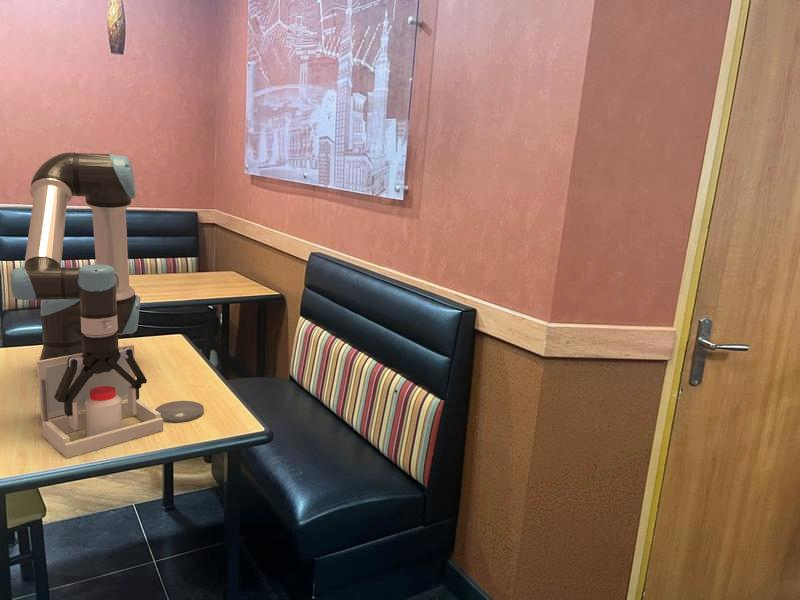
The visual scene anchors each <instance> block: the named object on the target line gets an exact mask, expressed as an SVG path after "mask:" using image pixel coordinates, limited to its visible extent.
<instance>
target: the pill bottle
mask: <svg viewBox="0 0 800 600" xmlns="http://www.w3.org/2000/svg"><path fill="white" fill-rule="evenodd" d="M121 402H122V401H121V397H120V396H118V395H117V394H116V389H115V388H114V387H112V386H100V387H95V388H93V389H91V390H90V397H89V398H88V399H87V400H86V401H85V410H84V411H85V414H86V428H85V429H86V438H87V437H90V436H94V435H98V434H101V433H105V432H109V431H113V430H116V429H120V428H124V427H123V419H122V404H121Z"/></svg>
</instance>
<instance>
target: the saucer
mask: <svg viewBox="0 0 800 600" xmlns="http://www.w3.org/2000/svg"><path fill="white" fill-rule="evenodd" d="M154 410H156V411H157V412H159V413H161V418H163V423H164V422H165V423H171V424H177V423H179V424H180V423H187V422H191V421H194V420H197V419H199V418H201V417H202V416H203V415H204V412H205V407H204V406H203V404H202V403H199V402H196V401H192V400H177V401H176V400H175V401H170V402H166V403H162V404H160V405H159V406H157V407H156V408H155V409H154Z"/></svg>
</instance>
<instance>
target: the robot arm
mask: <svg viewBox="0 0 800 600" xmlns="http://www.w3.org/2000/svg"><path fill="white" fill-rule="evenodd" d="M136 188H137V187H136V181H135V175H134V171H133V166H132V162H131V160H130V159H129V158H128V157H127V156H125V155H117V154H112V153H90V152H89V153H87V152H86V153H85V152H84V153H83V152H63V153H60V154H56V155H54V156H52V157H51V158H49V159H47V161H45V162H44V163H43V164H42V165H40V166H39V168H38V169H37V171H35V173H34V175H33V177H32V178H31V182H30V189H29V192H30V196H31V198H32V207H31V212H30V213H31V215H30V222H29V230H28V235H27V236H28V237H27V243H26V249H25V257H24V266H20V267H15V268H13V270H12V271H11V275H10V288H11V293H12V296H13V298H14V299H16V300H19V301H34V302H35V301H41V302H40V313H39V315H40V322H41V333H42V350H41V354H40V356H39V360H38V361H40V360H46V359H51V358H57V357H63V356H68V355H74V354H80V353H83V355H82V357H81V358H72V357H69V358H68V362H67V369H66V371H65V373H64V375H63V378H62V380H61V382H60V385H59V387H58V389H57V391H56V394H55V396H54V398H55V399H56V400H57V401H58V402H64V412H65V414H66V415H67V416H69V421H70V427H71V428H72V429H74V430H77V429H78V421H77V404H76V402H75V401H74V399H75V397H76V396H77V394H78V393H79V392H80V390H81V389H82V388H83V386H84V385H85V383H86V382H87V381H88V379H89V378H91V377H92V376H93V374H94V373H95V374H100V373H103V372H110V371H111V370H112V369H114V370H115V371H116V372H117V373H118V374H120V375H121V376H122V377H123V378H124V379H125V380H126V381H128V382H129V383H130V384H131V386H127V387H128V412H130V413H131V414H133V415H135V414H137V412H136V400H139V399H140V389H141V387H142V386H143V385H144V384H146V383H148V379H147V378H146V376H145V374H144V372H142V370H141V367H140V366H139V364H138V363H137V361H136V360H134V358H133V351H132V350H131V349H129V348H127V347H125V348H124V349H123V350H120V351H119V350H118V347H119V336H121V335H126V334H128V335H129V334H134V333H135V332H136V331H137V330H138V325H139V319H140V306H141V296H140V295H138V294H136V290H135V289H134V288H133V287H132V286H130V276H129V275H130V274H129V273H130V272H129V252H128V232H127V230H128V229H127V212H126V211H127V208H128V207H130V206H131V205H132V199H135V198H136V197H137V189H136ZM73 197H83V198H85V205H87V206H88V207H89V208H90V209H91V212H92V227H93V239H94V253H95V255H94V256H95V264H88V265H86V264H85V265H84V266H80V267H77V266H76V267H62V259H63V249H64V240H65V239H64V238H65V227H66V216H67V204H69V203H70V201H71V200H72V198H73ZM120 356H122V357H123V358H125V360H126V362H127V363H128V365H129V366H130V368H131V370H132V371H133V373H134V375H135V379H134V378H133V377H131V376H130V375H129V374H128V373H127V372H126V371H125V370H124V369H123V368H122V367H121V366H119V365H118V364H117V361H118V360H119V358H120ZM81 363H83V364H84V365H85V366H84V367H83V369H82V370H81V373H80V375H79V376H78V377H77V379H76V380H75V381H74V383H73V384H72V385H71V383H72V381H73V378H74V376H75V374H76V371H77V368H79V366H80V364H81ZM70 385H71V387H70ZM69 387H70V388H69ZM77 431H78V430H77Z"/></svg>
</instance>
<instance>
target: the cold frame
mask: <svg viewBox="0 0 800 600" xmlns="http://www.w3.org/2000/svg"><path fill="white" fill-rule="evenodd" d="M118 346H119V345H118ZM125 347H127V348H129V349H131V350H132V351H133V358H134V360H135V359H136V357H135V356H136V355H135V344H134V343H132V344H125V345H120V346H119V347H118V350H119V351H120V350H123V349H124V348H125ZM82 355H83V353H80V354H74V355H68V356H63V357H57V358H51V359H46V360H40V361H39V360H37V361H36V366H37V367H36V368H37V381H38V397H39V406H40V407H39V411H40V419H41V420H42V434H43V435H42V436H43V438H44V439H45V438H46V439H47V440H48V441H47V440H46V439H45V440H46V441H47V442H49V443H50V444H51V445H52V446H53V447H54V448H55V447H56V448H55V449H56V450H57V451H59V453H60V454H62V455H63V456H64V457H65V458H66V459H69V458H73V457H76V456H79V455H83V454H86V453H90V452H94V451H97V450H101V449H103V448H107V447H111V446H115V445H118V444H122V443H125V442H129V441H132V440H137V439H138V438H142V437H146V436H148V435H149V436H150V435H153V434H156V433H161V432H163V431H164V422H163V418H161V413H159V412H157V411H156V410H155V409H154V408H152V406H149V405H148V404H146V403H145V402H143V401H142V400H139V399H138V400H136V412H137V414H135V415H133V414H131V413H130V412H128V387H127V386H131V384H130V383H129V382H128V381H126V380H125V379H124V378H123V377H122V376H121V375H120V374H118V373H117V372H116V371H115V370H114V369H112V370H111V371H110V372H103V373H100V374H95V373H94V374H93V376H92V377H91V378H89V379H88V381H87V382H86V383H85V385H84V386H83V388H82V389H81V390H80V392H79V393H78V394H77V396H76V397H75V399H74V401H75V402H76V404H77V421H78V429H77V430H74V429H72V428H71V427H70V421H69V416H67V415H65V412H64V402H58V401H57V400H56V399H55V398H54V396H55V394H56V391H57V389H58V387H59V385H60V382H61V380H62V378H63V375H64V373H65V371H66V369H67V362H68V358H69V357H72V358H81V357H82ZM135 361H136V360H135ZM117 364H118V365H119V366H121V367H122V368H123V369H124V370H125V371H126V372H127V373H128V374H129V375H130V376H131V377H133V378H134V379H135V380H136V376H135V375H134V373H133V371H132V370H131V368H130V366H129V365H128V363H127V362H126V360H125V358H123V357H122V356H120V358H119V360H118V361H117ZM84 366H85V365H84V364H83V363H81V364H80V366H79V368H77V371H76V374H75V376H74V378H73V381H72V383H71V385H72V384H73V383H74V381H75V380H76V379H77V377H78V376H79V375H80V373H81V370H82V369H83V367H84ZM71 385H70V387H71ZM100 386H112V387H114V388H115V389H116V394H117V395H118V396H120V397H121V404H122V420H123V419H126V418H130V417H134V416H135V417H136V418H137V419H139V420H140V421H142V422H139V423H135V424H131V425H128V426H125V427H123V428H120V429H116V430H113V431H109V432H105V433H101V434H98V435H94V436H90V437H87V436H86V437H84V438H80V439H77V440H76V439H75V440H73V441H71V438H70V437H69V436H68V435H67V434H68V433H72V432H76V431H79V430H83V429H84V430H85V429H86V414H85V401H86V400H87V399H88V398H89V397H90V390H91V389H93V388H95V387H100ZM70 387H69V388H70ZM61 415H64V416H61ZM57 416H60V417H57ZM53 417H56V418H53ZM51 418H52V419H51Z"/></svg>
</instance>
